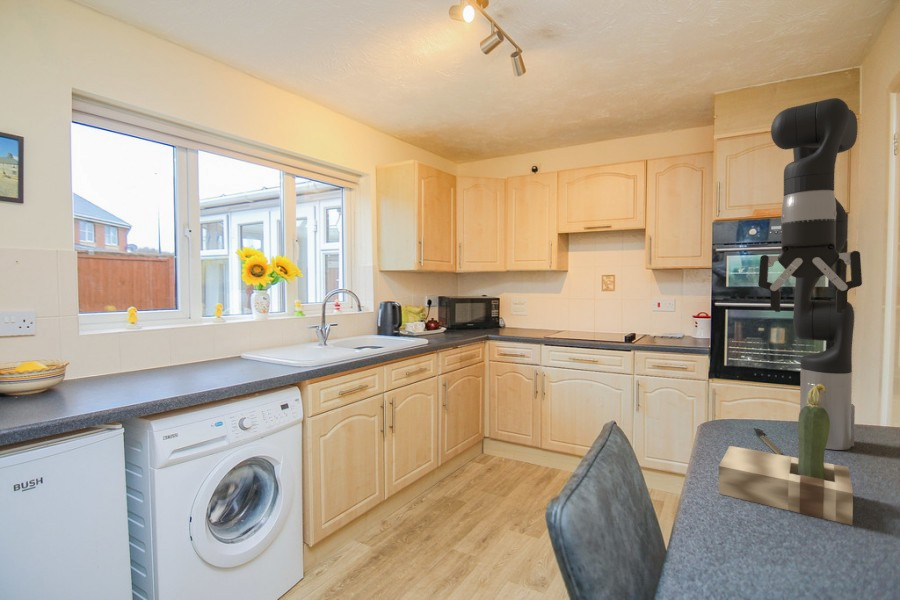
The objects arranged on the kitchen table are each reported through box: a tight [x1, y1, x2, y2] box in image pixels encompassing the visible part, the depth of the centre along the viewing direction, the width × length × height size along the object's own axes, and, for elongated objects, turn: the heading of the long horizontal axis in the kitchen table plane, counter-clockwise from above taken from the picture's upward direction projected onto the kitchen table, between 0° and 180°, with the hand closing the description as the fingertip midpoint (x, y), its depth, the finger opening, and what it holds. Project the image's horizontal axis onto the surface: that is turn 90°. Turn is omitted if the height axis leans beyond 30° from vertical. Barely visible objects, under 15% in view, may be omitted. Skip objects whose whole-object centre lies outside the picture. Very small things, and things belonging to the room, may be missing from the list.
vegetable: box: [797, 384, 830, 480], centre depth 81 cm, size 4×4×20 cm
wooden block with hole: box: [718, 445, 854, 526], centre depth 82 cm, size 18×13×5 cm
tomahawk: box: [753, 427, 786, 456], centre depth 106 cm, size 21×7×1 cm, turn 159°
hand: (807, 312), depth 81 cm, fingers open, 8 cm apart
